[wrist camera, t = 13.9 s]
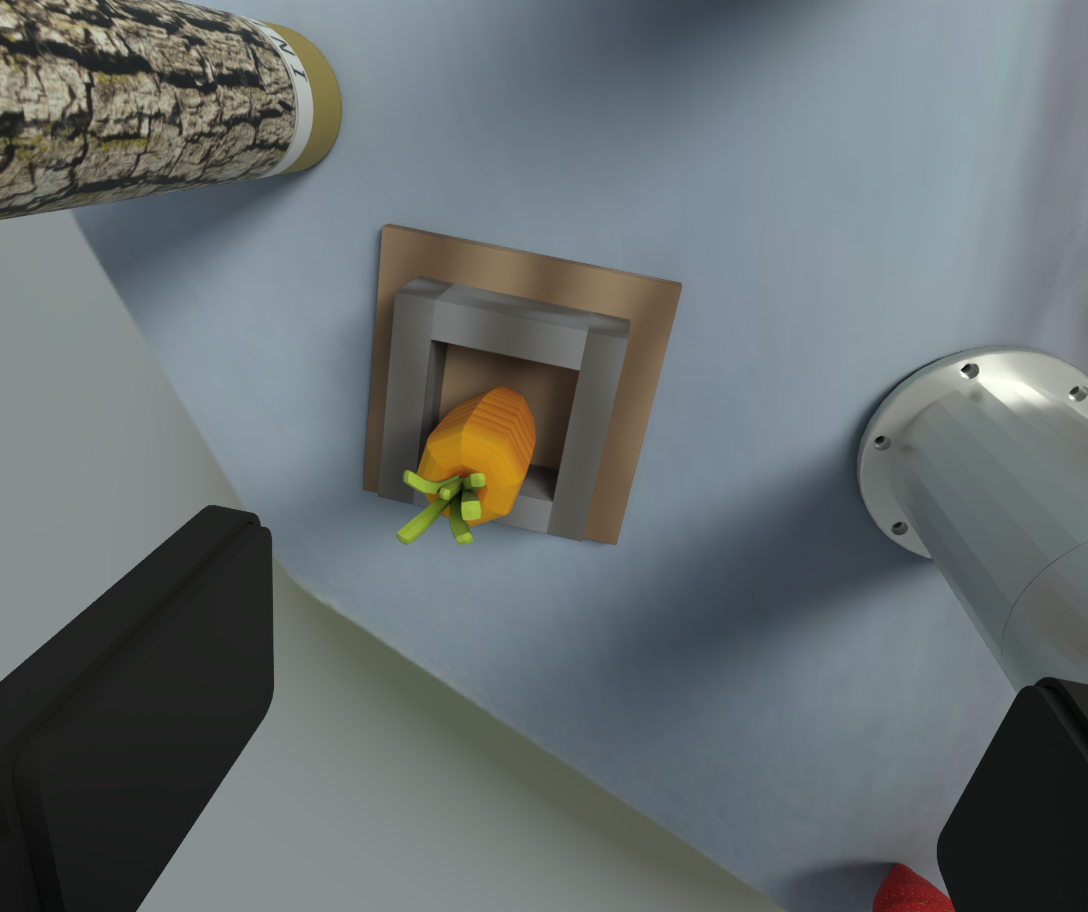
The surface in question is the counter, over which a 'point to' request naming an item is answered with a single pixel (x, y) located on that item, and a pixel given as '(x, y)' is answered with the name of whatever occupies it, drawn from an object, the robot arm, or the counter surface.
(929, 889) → the strawberry
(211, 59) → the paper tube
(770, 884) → the counter surface
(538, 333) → the docking stand
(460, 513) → the carrot
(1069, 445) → the robot arm
